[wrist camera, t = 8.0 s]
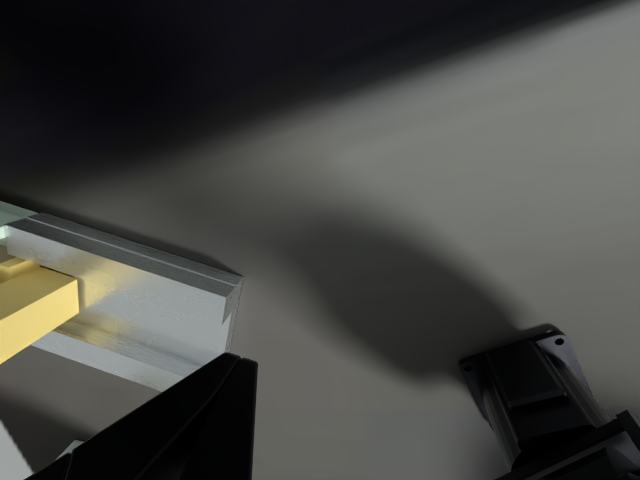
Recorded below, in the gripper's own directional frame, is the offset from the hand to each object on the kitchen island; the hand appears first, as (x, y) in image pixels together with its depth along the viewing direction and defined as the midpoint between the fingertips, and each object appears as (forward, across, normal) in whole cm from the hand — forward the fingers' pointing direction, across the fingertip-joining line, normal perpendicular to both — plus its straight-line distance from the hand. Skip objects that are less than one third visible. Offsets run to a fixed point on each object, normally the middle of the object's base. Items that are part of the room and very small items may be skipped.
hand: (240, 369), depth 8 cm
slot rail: (+13, +12, +11) cm, 21 cm away
